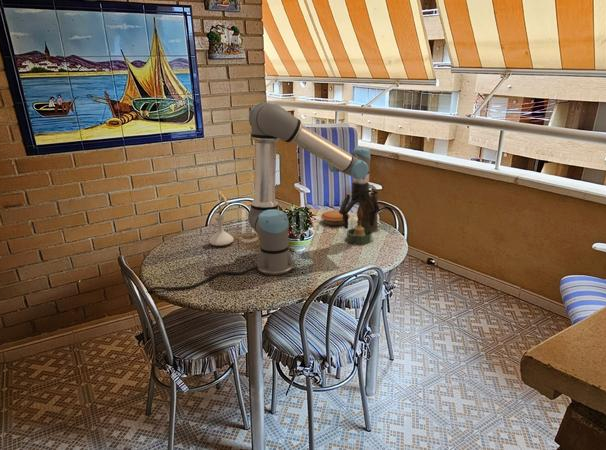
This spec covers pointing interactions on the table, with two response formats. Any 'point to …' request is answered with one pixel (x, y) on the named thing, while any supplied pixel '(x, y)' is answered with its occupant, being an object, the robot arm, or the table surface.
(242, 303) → the table surface
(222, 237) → the flower in vase
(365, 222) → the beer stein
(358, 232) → the hand bell
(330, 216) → the pie
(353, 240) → the holder
